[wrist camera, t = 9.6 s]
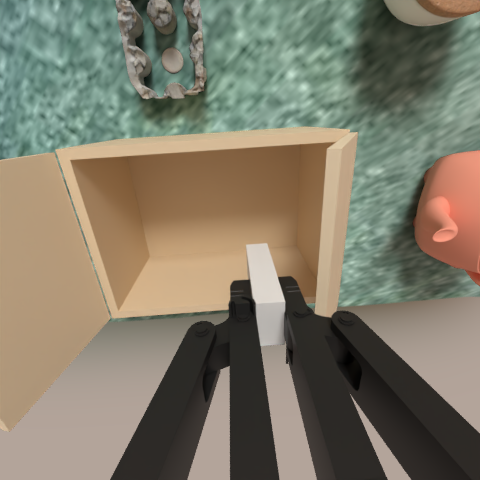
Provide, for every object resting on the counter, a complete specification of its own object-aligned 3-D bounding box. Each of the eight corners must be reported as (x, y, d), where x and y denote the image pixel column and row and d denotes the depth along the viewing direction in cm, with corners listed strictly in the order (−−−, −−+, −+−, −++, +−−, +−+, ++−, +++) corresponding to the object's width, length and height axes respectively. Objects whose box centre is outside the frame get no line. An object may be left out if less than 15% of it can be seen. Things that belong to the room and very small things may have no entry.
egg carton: (209, 98, 29) (207, 95, 26) (142, 101, 29) (129, 99, 25) (199, -30, 25) (194, -56, 21) (119, -27, 25) (100, -53, 21)
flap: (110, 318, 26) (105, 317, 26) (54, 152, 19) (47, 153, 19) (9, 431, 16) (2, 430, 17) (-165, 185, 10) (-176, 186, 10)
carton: (146, 260, 37) (112, 318, 26) (117, 139, 30) (55, 149, 19) (301, 248, 37) (331, 301, 26) (306, 126, 31) (350, 129, 20)
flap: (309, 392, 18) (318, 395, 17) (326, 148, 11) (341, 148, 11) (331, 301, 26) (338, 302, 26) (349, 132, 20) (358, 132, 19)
